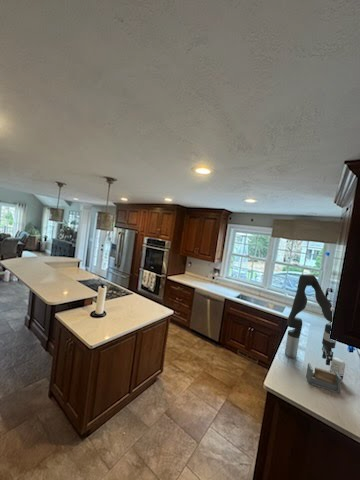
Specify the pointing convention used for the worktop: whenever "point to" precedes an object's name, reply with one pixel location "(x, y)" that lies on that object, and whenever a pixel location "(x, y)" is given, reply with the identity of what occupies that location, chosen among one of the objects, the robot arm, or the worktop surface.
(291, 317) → the robot arm
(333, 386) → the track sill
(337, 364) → the supplement can
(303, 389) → the worktop surface
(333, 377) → the door panel
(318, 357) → the worktop surface
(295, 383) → the worktop surface
